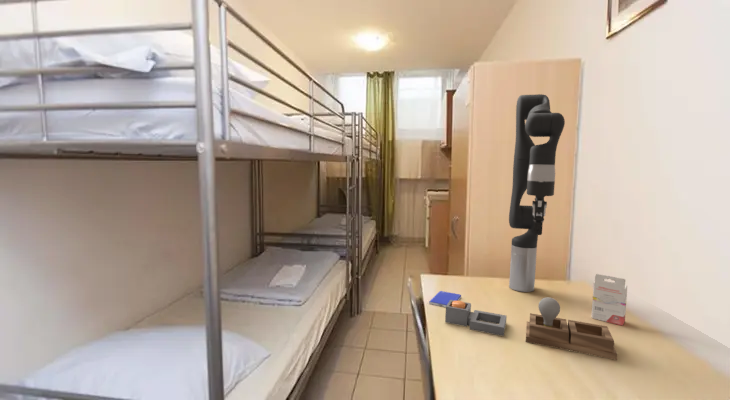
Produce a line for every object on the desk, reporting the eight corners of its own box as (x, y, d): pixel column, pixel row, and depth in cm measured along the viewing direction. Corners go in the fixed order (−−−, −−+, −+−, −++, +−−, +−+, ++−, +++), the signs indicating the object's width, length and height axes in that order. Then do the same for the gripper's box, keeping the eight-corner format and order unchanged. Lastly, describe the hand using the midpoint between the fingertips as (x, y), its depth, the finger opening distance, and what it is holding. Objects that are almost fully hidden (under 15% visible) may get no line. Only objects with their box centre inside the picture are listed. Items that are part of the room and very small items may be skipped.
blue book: (439, 290, 137) (428, 301, 127) (461, 294, 133) (452, 305, 123) (439, 294, 138) (428, 305, 127) (461, 298, 134) (452, 310, 123)
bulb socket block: (450, 313, 119) (451, 298, 118) (506, 323, 112) (506, 307, 111) (444, 324, 110) (444, 308, 110) (503, 336, 103) (504, 319, 103)
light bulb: (561, 337, 100) (563, 302, 99) (539, 335, 101) (542, 300, 100) (554, 328, 105) (557, 295, 104) (534, 326, 106) (536, 293, 105)
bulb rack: (526, 326, 110) (527, 311, 110) (608, 341, 101) (610, 325, 101) (525, 341, 100) (526, 326, 100) (616, 360, 91) (618, 342, 91)
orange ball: (453, 310, 116) (453, 299, 115) (465, 312, 114) (466, 301, 114) (450, 314, 112) (450, 303, 112) (463, 317, 110) (464, 306, 110)
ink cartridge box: (625, 321, 115) (629, 276, 113) (622, 326, 111) (626, 279, 110) (593, 313, 121) (597, 270, 119) (590, 318, 117) (594, 273, 116)
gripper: (527, 178, 118) (524, 228, 120) (527, 179, 105) (523, 235, 107) (553, 179, 115) (550, 230, 117) (556, 180, 102) (552, 237, 104)
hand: (537, 232), depth 112 cm, fingers open, 8 cm apart
